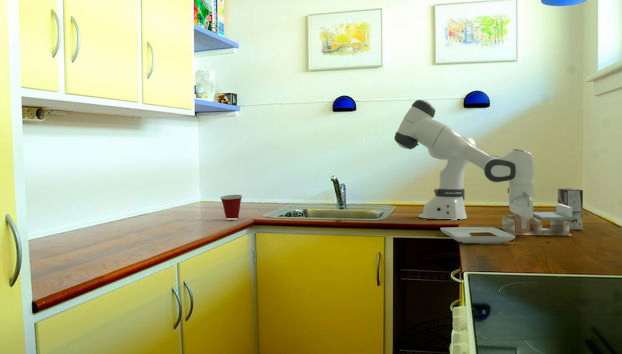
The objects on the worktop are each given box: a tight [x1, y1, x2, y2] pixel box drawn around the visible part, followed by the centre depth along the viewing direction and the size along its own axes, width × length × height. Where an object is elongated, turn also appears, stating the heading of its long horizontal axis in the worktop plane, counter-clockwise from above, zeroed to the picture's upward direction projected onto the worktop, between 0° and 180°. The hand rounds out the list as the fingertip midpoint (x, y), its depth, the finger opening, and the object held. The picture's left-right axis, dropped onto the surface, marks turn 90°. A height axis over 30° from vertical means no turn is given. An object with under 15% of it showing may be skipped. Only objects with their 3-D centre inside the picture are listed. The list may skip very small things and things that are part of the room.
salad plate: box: [439, 226, 516, 244], centre depth 178 cm, size 21×21×3 cm
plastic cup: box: [219, 194, 243, 219], centre depth 237 cm, size 11×11×12 cm
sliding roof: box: [533, 203, 573, 221], centre depth 185 cm, size 11×14×4 cm
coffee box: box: [557, 188, 584, 230], centre depth 199 cm, size 9×6×16 cm
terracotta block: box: [513, 218, 530, 232], centre depth 187 cm, size 5×5×5 cm
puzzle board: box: [501, 214, 572, 236], centre depth 186 cm, size 22×14×6 cm
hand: (520, 226), depth 188 cm, fingers open, 6 cm apart
